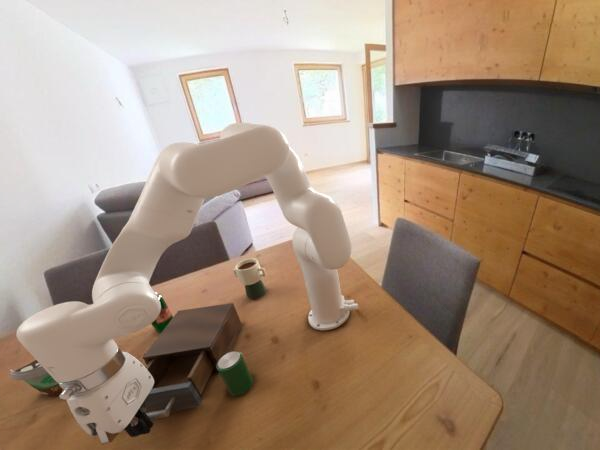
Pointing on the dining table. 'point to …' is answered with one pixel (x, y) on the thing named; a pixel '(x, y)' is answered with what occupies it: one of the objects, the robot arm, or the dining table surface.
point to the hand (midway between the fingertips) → (142, 430)
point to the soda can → (162, 315)
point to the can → (234, 373)
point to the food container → (37, 378)
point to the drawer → (177, 382)
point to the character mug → (251, 277)
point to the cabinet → (198, 333)
